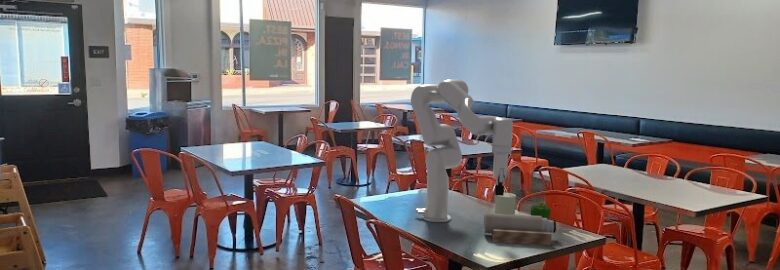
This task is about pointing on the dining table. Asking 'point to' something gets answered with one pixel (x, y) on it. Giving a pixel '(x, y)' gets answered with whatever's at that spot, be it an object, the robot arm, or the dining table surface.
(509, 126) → the robot arm
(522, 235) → the bottle rest
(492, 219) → the thermos bottle
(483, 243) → the dining table surface
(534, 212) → the bell pepper
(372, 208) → the dining table surface
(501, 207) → the can
